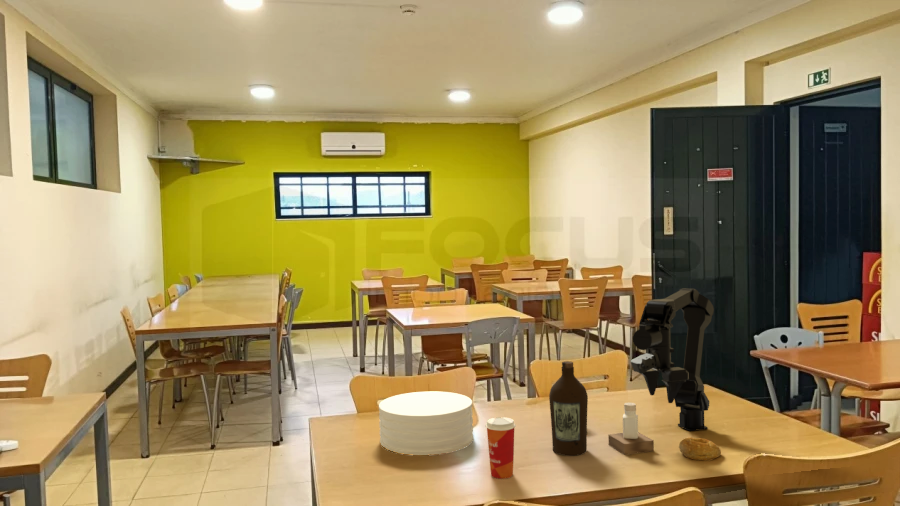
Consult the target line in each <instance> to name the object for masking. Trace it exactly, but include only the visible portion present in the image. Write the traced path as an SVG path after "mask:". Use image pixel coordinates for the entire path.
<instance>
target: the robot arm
mask: <svg viewBox="0 0 900 506" xmlns="http://www.w3.org/2000/svg"><path fill="white" fill-rule="evenodd" d="M679 310H681V312H682V313H683V321H684V322H685V324H686V326H687V331H686V332H687V333H686V334H687V335H686V344H685V351H684V361H683V362H684V363H683V367H680V366H676V367H675V362H672V357H671V356H672V354H673V353H674V352H675V348H673V347H672V346H671V345H672V344H671V328H673V327H674V325H673V323H672V320H673V319H674V318H676V312H677V311H679ZM714 313H715V309H714V305H713V304H712V302H711V300H710V299H709V298H707V297H706V296H704V295H702V294H701V293H700V292H699V291H698V290H697V289H695V288H684V287H683V288H679V289H678V291H676V292H674V293H673V294H670V295H669V296H667V297H664V298H660V299H649V300H648V301H647V302H646V303H645V305H644V308H643V311H642V314H641V316H640V320H639V323H638V324H639V326H638V328H639V329H637V330H636V331H635V332H634V333H633V336H632V342H633V345H634V346H635V348H637V349H638V350H641V351H645V353H643V354H640V355H639V356H637V357H634V358H633V359H631V360H630V364H631V367H632V370H633V372H636V373H639V374H640V375H642V376H643V378H644V380H645V383H646V386H647V389H648V392H649V394H650V396H655V393H656V389H657V385H658V381H659V376H660V373H661V376H662V379H661V382H663V384H665V387H666V388H665V389H666V397H667V403H668V404H673V402H674V403H675V407H676V408H680V409H679V411H680V412H679V415H678V416H679V418H678V419H679V423H677V427H680V428H682V429H684V430H686V431H688V432H694V431H703V430H708V429H709V428H708V426H706V425H705V411H709V408H710V399H709V398H708V396H707V395H706V392H705V385H704V383H703V380H702V378H701V377H700V376H701V366H702V355H703V347H704V345H703V344H704V337H705V330H706V329H707V328H708V326H709V325H710V323H711V322H712V318H713V317H712V316H713V315H714Z"/></svg>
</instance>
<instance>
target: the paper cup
mask: <svg viewBox="0 0 900 506" xmlns="http://www.w3.org/2000/svg"><path fill="white" fill-rule="evenodd" d="M485 428H486V433H487V444H488V447H487V448H488V455H489V456H488V458H489V469H490V476H491V477H492V478H495V479H498V480H500V479H501V480H502V479H503V480H504V479H510V478H511V477H513V475H514V474H513V473H514V455H515V454H514V452H515V428H516V424H515V420H514V419H512V418H510V417H506V416H505V417H504V416H502V417H491V418H489V419H488V420H487V421H486V424H485Z"/></svg>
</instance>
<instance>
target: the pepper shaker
mask: <svg viewBox="0 0 900 506" xmlns="http://www.w3.org/2000/svg"><path fill="white" fill-rule="evenodd" d="M623 410H624V413H623V414H622V433H623V437H624V438H625V439H637V438H638V432H639V415H638V414H637V404H636V403H635V402H624V404H623Z"/></svg>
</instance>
